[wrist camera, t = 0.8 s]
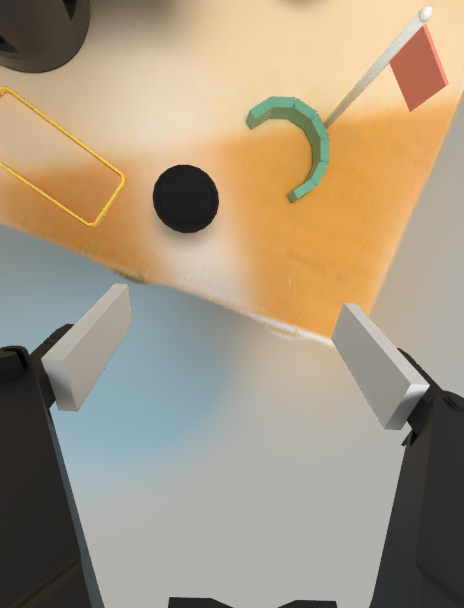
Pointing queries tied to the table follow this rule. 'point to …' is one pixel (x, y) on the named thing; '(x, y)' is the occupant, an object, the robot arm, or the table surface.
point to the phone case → (5, 89)
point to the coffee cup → (185, 198)
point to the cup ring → (306, 121)
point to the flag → (405, 67)
